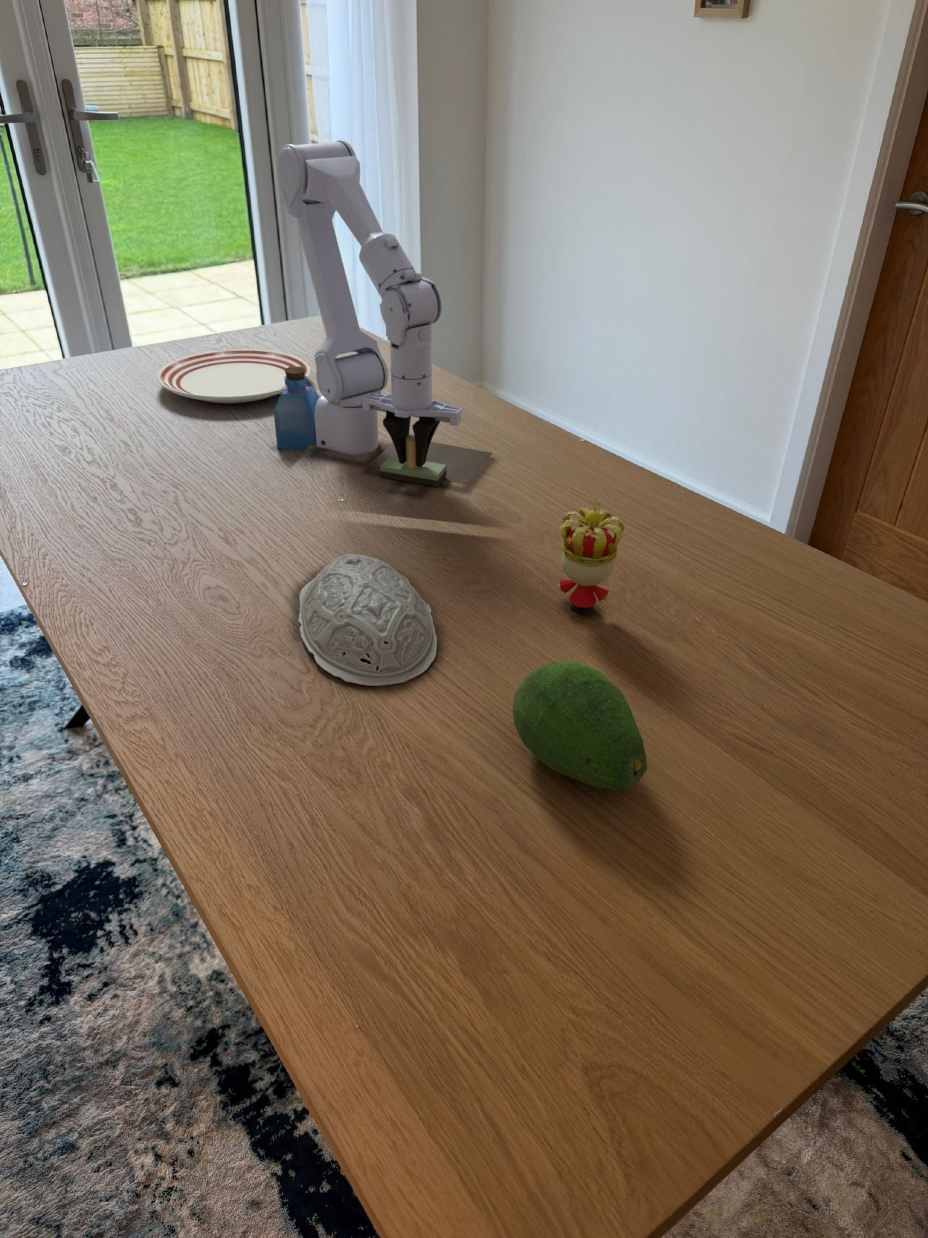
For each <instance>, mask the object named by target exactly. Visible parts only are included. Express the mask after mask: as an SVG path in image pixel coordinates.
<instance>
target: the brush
mask: <svg viewBox="0 0 928 1238" xmlns="http://www.w3.org/2000/svg"><path fill="white" fill-rule="evenodd" d="M379 469H380V478H384V479H389V480H396V481H401V482H407V483H411V484H412V483H413V484H418V485H424V486H430V487H434V488H435V487H437V488H438V487H439V485H440V484H441V483H442V481H444V480H443V479H444V478H445V477H446V469H447V465H445V464H439V463H433V462H427V461H426V463H425V464H424V465H423V466H422V467H417V466H416V443H415V436H414V434H409V435H408V436H406V462H405V463H404V464H400V463H399V459H398V457H397V456H390V457H389V458H388V459H387V460H386V461H385V462H384V463H383V464H382V465H381V466H380V468H379Z"/></svg>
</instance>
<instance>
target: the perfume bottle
mask: <svg viewBox="0 0 928 1238" xmlns="http://www.w3.org/2000/svg"><path fill="white" fill-rule="evenodd" d="M285 373H286V376H285V378H284V379H285V385H287V387H286V388H285V389H284V391H283V392H282V393H280V394H279V398H278V399H277V400H278V401H277V402H276V405H275V407H274V409H273V419H274V428H275V437H276V447H277V449H283V450H299V451H307V450H308V449H309V448H310V446H312V445H315V444H316V431H315V417H314V415H315V407H316V403H317V401H318V399H319V397H320V395H319V394H318V393H317V391H316V390H315V389H314V387H313V386H309V385H308V386H307V384H308V377H306V375H304V374H305V368H303V367H298V366H293V367H288V368H286V369H285Z"/></svg>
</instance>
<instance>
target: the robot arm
mask: <svg viewBox="0 0 928 1238" xmlns="http://www.w3.org/2000/svg"><path fill="white" fill-rule="evenodd" d="M276 174H277V179H278V182H279V186H280V189H281V193H282V197H283V200H284V204H285V207H286V210H287V214H288V215H291V217H294V221H295V226H296V229H297V233H298V236H299V240H300V245H301V248H302V251H303V255H304V259H305V262H306V266H307V270H308V274H309V277H310V281H311V286H312V289H313V293H314V296H315V297H314V298H315V300H316V305H317V308H318V311H319V315H320V319H321V324H322V326H323V330H324V334H325V339H324V340H323V342H322V343H321V344H320V346H319V348H318V349H317V350H316V352H314V354H313V358H314V363H315V370H316V375H315V376H316V377H315V379H316V384H317V387H318V390H319V392H320V393H321V395H319V399H318V401H317V403H316V407H315V415H314V417H315V431H316V443H315V444H316V447H317V448H322V449H326V450H330V451H331V450H332V451H336V452H338V453H341V454H344V455H351V456H361V455H365V454H370V453H373V452H374V451H376V450H378V448H379V444H380V443H379V417H378V412H382V413H385V418H383V419H382V425H383V427H384V428H385V430H386V432H387V433H388V435H389V437H390V439H391V441H392V443H394V446H395V449H396V452H397V455H398V459H399V463H400V464H404V463H405V462H406V436H408V435H410V428H411V427H412V432H413V435H414V436H415V443H416V466H417V467H422V466H423V465H424V464H425V463H426V458H427V453H428V449H429V446H430V443H431V442H432V441H433V440H432V439H433V438H434V434H435V433H436V431H437V428H438V427H439V425H440V423H441V422H442V423H448V424H449V425H450V426H454V427H457V426H458V425H460V424H461V422H462V420H463V408H461V407H456V406H453V405H449V404H446V403H444V402H441V401H438V400H435V399H433V324H435V323H436V322H438V320H439V319H440V317H441V315H442V307H443V306H442V299H441V294H440V291H439V289H438V288H437V285H436V283H435V282H434V281H432V280H431V279H429V278H427V277H425V276H424V275H423V274H422V273H420V272H419V273H418V272H417V271H416V270H415V268H414V266H413V264H412V262H411V261H410V259H409V257H408V256H407V254H406V253H405V250H404V249H403V247H402V245H401V243H400V242H399V240H398V238H397V237H396V236H395V235H394V234H392V233H388V232H387V233H386V232H384V231H383V229H382V227H381V225H380V223H379V221H378V218H377V216H376V214H375V212H374V210H373V208H372V206H371V203H370V202H369V200H368V197H367V196H366V193H365V191H364V189H363V187H362V185H361V183H360V181H361V163H360V161H359V160H358V158H357V155H356V153H355V150H354V149H353V147H352V145H351V144H350V143H349V142H348V141H346V140H344V139H340V140H339V139H338V140H336V141H331V142H318V143H306V144H305V143H304V144H292V143H289V144H285V145H284V146H283V147H282V148H281V151H280V154H279V156H278V161H277V168H276ZM336 212H337V214H338V215H339V217H340V218H341V220H342V221H343V222H344V224H345V225H346V226H347V228H348V229H349V231H350V232H351V233H352V234H351V235H353V237H354V238H355V240H356V241H357V243H358V244H359V245H360V250H359V254H358V260H359V262H360V263H361V266H362V267H363V268H364V270H365V272H366V274H367V275H368V277H369V279H370V280H371V283H372V284H373V286H374V288H375V290H376V291H377V293H378V295H379V296H380V298H381V302H380V303H379V310H380V314H381V318H382V321H383V322H384V326H385V336H386V339H387V341H388V342H389V347H390V384H391V385H390V387H391V388H390V391H391V394H382V391H383V390H385V388H386V387H387V385H388V382H389V381H388V380H389V368H388V365H387V362H386V360H385V358H384V357H383V354H382V353H381V351H380V348H379V344H378V341H377V340H376V339H375V338H373V337H372V336H370V335H369V334H367V333H365V332H364V331H362V330H361V329H360V325H359V320H358V317H357V313H356V309H355V305H354V301H353V297H352V293H351V289H350V285H349V282H348V278H347V273H346V270H345V265H344V262H343V258H342V254H341V250H340V247H339V242H338V239H337V235H336V231H335V227H334V223H333V219H334V216H335V213H336ZM348 353H355V354H349V355H346V356H345V355H344V354H348ZM339 355H344V356H341V357H338V356H339ZM412 418H418V420H417V421H415V422H414V423H413V424H412V425H411V419H412Z"/></svg>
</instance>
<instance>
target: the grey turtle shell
mask: <svg viewBox="0 0 928 1238" xmlns="http://www.w3.org/2000/svg"><path fill="white" fill-rule="evenodd" d="M298 598H299V603H300V604H299V606H300V607H299V613H298V616H299V617H298V623H299V624H300V627H299V631H300V637H301V639H302V641H303V643H304V645H305V647H306V648H307V650H308V652H309V653H312V654H313V657H314V660H315V662H316V663H317V665H318V666H319V667H320V668H322V670H324V671H326V672H327V673H329V674H330V675H332V676H334V677H336V678H340V679H341V680H343V682H346V683H352V684H358V685H360V686H368V687H369V686H370V687H382V686H388V685H389V686H392V685H399V684H404V683H406V682H408V681H410V680H412V679H414V678H416V677H418V676H420V675H421V674H423V673H424V672H426V671H427V670H428V669H429V667H430V666H431V664H432V663H433V661H435V658H436V656H437V647H438V638H437V633H436V627H435V625H434V618H433V616H432V612H433V611H432V608H431V606H430V603H428V602H427V601H426V602H425V600H424V599H422V597H421V595H420V593H418V591H417V590H416V588H414V586H413V585H411V583H410V581H409V579H408V578H407V577H406V576H404V575H403V574H401V573H400V572H399V571H397V569H395V568H394V567H393V565H391V564H389V563H387V562H386V561H383V560H381V559H379V558H375V557H371V556H370V555H365V554H356V553H353V554H352V553H346V554H343V555H340V556H336V558H335V559H333V560H332V561H331V562H329V564H327V565H325V566H324V567H323V568H322V569H321V570H320V572H319V573H316V576H315V577H314V578H312V579H311V580H310V581H309V582H307V584H306V585H305V586H303V587H302V589H301V590H300V592H299V596H298ZM344 653H345V654H344ZM367 654H368V655H367ZM361 659H364V660H366V661H369V662H370V663H368V662H366V661H364V662H363V661H362V660H361ZM377 667H378V669H377Z"/></svg>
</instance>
